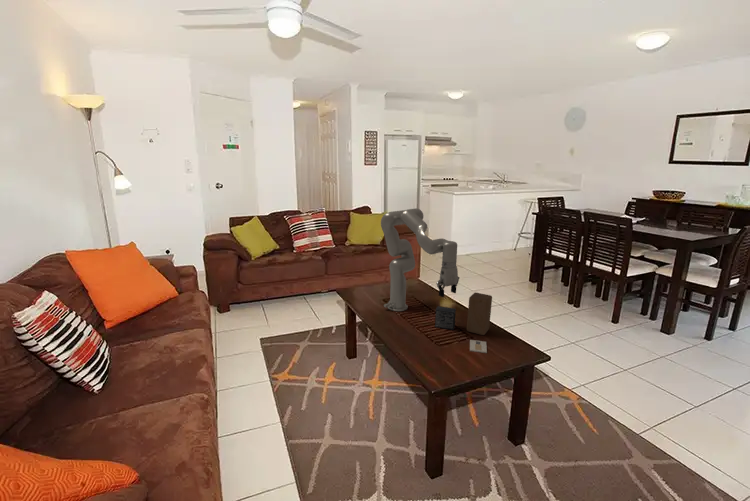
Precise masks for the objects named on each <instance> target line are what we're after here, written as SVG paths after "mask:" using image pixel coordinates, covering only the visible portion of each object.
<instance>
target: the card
mask: <svg viewBox="0 0 750 501" xmlns="http://www.w3.org/2000/svg"><path fill="white" fill-rule="evenodd" d="M469 352H475V353H481V354H482V353H483V354H487V353H488V350H487V341H484V340H483V341H482V340H477V339H476V340H474V339H470V340H469Z"/></svg>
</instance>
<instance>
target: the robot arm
mask: <svg viewBox="0 0 750 501" xmlns="http://www.w3.org/2000/svg"><path fill="white" fill-rule="evenodd" d="M399 225H400V226H402V225H405V226H407V227H408V228H409V229H410V230H411V231H412V232H413V234H415V237H416V241H417V244H418V246H419V247H420V248H421V249H422V250H423V251H424V252H425V253H427V254H428V255H436V254H440V253H442V260H441V268H440V272H439V279H438V280H437V281H436V286H437V289H438V296H440V297H442V298H444V297H445V287H450V292H451V293H454V294H456V293H457V286H458V283H459V281H460V277H459V274H458V273H459V272H458V271H459V270H458V266H457V257H458V242H456V241H454V240H453V241H451V240H447V239H445V238H436V239H430V237H428V236H427V235H426V231H427V229H428V224H427V223H426V222H425V221H424V213H423V211H422V210H421V209H419V208H409V209H404V210H395V211H389V212H386V213H384V214H383V215H382V216H381V219H380V226H381V230H382V233H383V234H384V240H385V244H386V248H387V252H388V254H389V256H391V257H397V258H395V259H393V260H391V261H390V263H389V266H388V267H389V268H388V270H389V274H390V286H389V287H390V290H389V297H390V299H389V300H388V303H385V304H383V307H384V308H387V309H388V310H390V311H393V312H394V311H395V312H403V311H404V312H405V311H406V310H408V304H406V294H407V293H406V292H407V279H406V276H405V273H407V272H411V271H414V269H415V267H416V259H415V256H414V255H415V254H414V252H413V251H414V250H413V248H412V247H413V246H412V244H411V242H410V241H409V240H408V239H406V238H402V239H400V234H399V231H398V230H397V228H395V226H399ZM399 256H401V257H399Z"/></svg>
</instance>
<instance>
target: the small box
mask: <svg viewBox="0 0 750 501" xmlns="http://www.w3.org/2000/svg"><path fill="white" fill-rule="evenodd" d="M456 311H457V309H456V308H453V307H447V306H445V307H444V306H439V305H438V306H436V308H435V318H434V321H435V322H434V328H439V329H444V330H450V331H454V329H455V328H456V327H455V326H456V313H457V312H456Z"/></svg>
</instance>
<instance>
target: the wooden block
mask: <svg viewBox="0 0 750 501" xmlns="http://www.w3.org/2000/svg"><path fill="white" fill-rule="evenodd" d="M492 302H493V296H492V295H491V294H487V293H486V294H485V293H480V292H473V293H472V294H471V295H470V296H469V298H468V307H467V308H468V310H467V320H466V322H467V323H466V331H467V332H469V333H472V334H477V335H481V336H484V335H486V334H487V333H488V331H489V330H490V326H491V325H490V324H491V313H492Z"/></svg>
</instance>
